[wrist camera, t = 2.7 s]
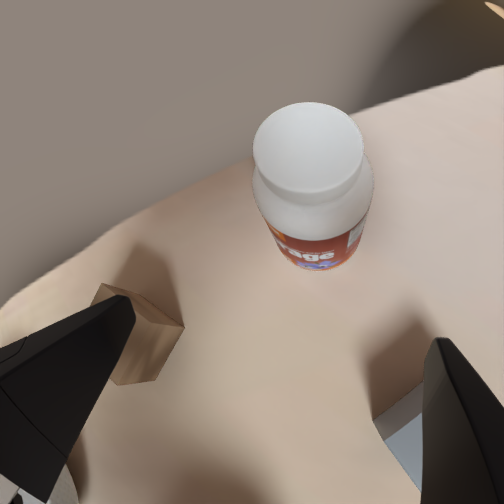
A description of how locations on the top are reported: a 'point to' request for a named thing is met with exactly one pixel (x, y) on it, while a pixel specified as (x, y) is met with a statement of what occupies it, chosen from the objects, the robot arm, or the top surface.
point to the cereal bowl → (57, 491)
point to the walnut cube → (142, 339)
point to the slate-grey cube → (405, 432)
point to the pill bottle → (312, 183)
